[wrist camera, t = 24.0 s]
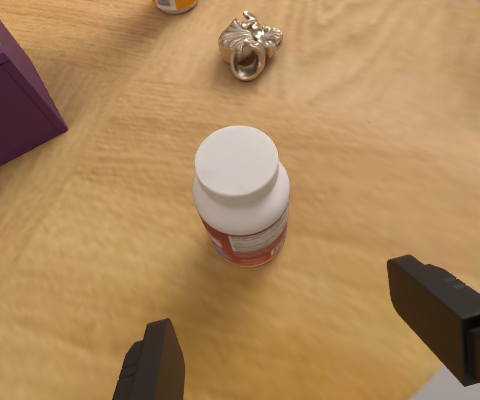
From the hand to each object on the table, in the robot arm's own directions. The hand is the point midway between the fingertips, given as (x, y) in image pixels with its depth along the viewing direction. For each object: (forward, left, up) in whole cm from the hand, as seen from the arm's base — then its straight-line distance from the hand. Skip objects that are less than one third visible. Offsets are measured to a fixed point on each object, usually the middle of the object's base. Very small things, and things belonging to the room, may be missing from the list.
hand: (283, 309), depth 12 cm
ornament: (+11, +28, -14) cm, 33 cm away
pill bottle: (+2, +9, -14) cm, 17 cm away
